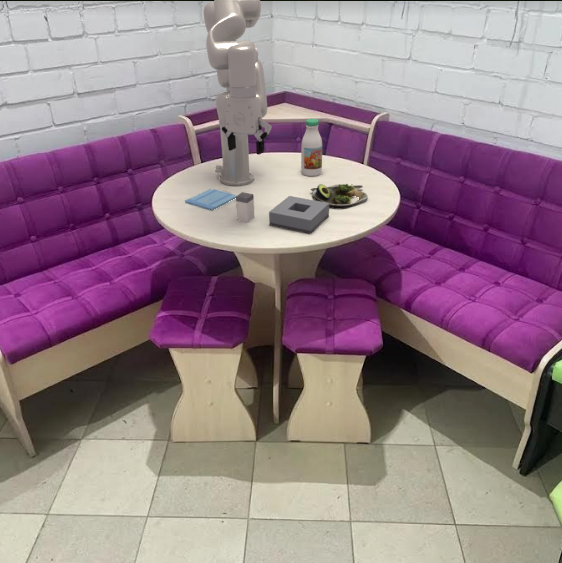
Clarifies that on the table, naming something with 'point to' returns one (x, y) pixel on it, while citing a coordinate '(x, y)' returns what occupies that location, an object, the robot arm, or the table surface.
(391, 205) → the table surface
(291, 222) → the block
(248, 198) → the block
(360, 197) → the salad plate
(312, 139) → the milk bottle
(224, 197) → the blue striped cloth
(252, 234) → the table surface
